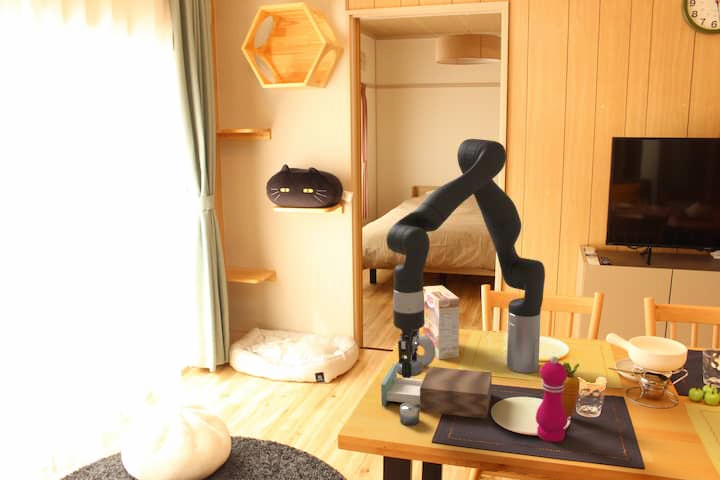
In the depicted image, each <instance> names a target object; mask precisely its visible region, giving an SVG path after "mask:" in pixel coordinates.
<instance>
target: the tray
mask: <svg viewBox="0 0 720 480" xmlns="http://www.w3.org/2000/svg"><path fill="white" fill-rule="evenodd" d="M397 375H398V373H397V363H396V364H394V363H393V364H392V365H391V367H390V369H389V370H388V372H387V374H386V375H385V378H384V379H383V381H382V383H381V384H380V385H381V387H380V388H381V389H380V391H381V406H383V407H385V406H386V405H387V404H388V401H389V402H398V403H406V402H412V403H416V404H418V405H420V387H421V385H422V382H423V380H424V379H418V378H417V379H416V378H404V377H397Z"/></svg>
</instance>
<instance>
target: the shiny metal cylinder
mask: <svg viewBox="0 0 720 480" xmlns="http://www.w3.org/2000/svg"><path fill="white" fill-rule="evenodd" d="M399 422H400V424H401V425H403V426H406V427H415V426H418V425H419V424H420V404H416V403H412V402H402V403H401V404H400V406H399Z"/></svg>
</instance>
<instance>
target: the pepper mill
mask: <svg viewBox="0 0 720 480" xmlns="http://www.w3.org/2000/svg"><path fill="white" fill-rule="evenodd" d="M549 360H550V361H548V362H545V363H544V364H543V365H542V366H541V368H540V369H539V370H540V372H539V374H540V378H541V379H542V381H541V384H542V385H541V388H542V389H543V398H542V401H541V403H540V405H539V406H538V408H537V409H536V410H537V411H536V412H535V413H536V414H535V421H536V423H537V428H536V429H537V431H536V432H537V433H536V434H537V437H539V438H540V439H541V440H543V441H546V442H548V443H549V442H550V443H557V442H562V441H563V440H564V439H565V436H566V435H565V434H566V429H565V428H566V426H567V425H568V422H569V421H568V418H567V413H566V411H565V408H564V406H563V404H562V399H561V394H562V391H563V390H564V383H563V382H564V381H565V380H566V378H567V371H566V368H565V367H564V366H563V363H561V362H559V358H558V357H557V356H551V357H550V359H549Z"/></svg>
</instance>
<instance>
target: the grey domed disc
mask: <svg viewBox="0 0 720 480" xmlns="http://www.w3.org/2000/svg"><path fill="white" fill-rule="evenodd" d="M423 368H424V366H423V364H422V362H420V361H418V360H414V359H412V362H411V378H412V377H418V376H420V375H422V374H423V371H424V370H423ZM396 369H397V375H400V376H402V364H399V361H397V362H396Z"/></svg>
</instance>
